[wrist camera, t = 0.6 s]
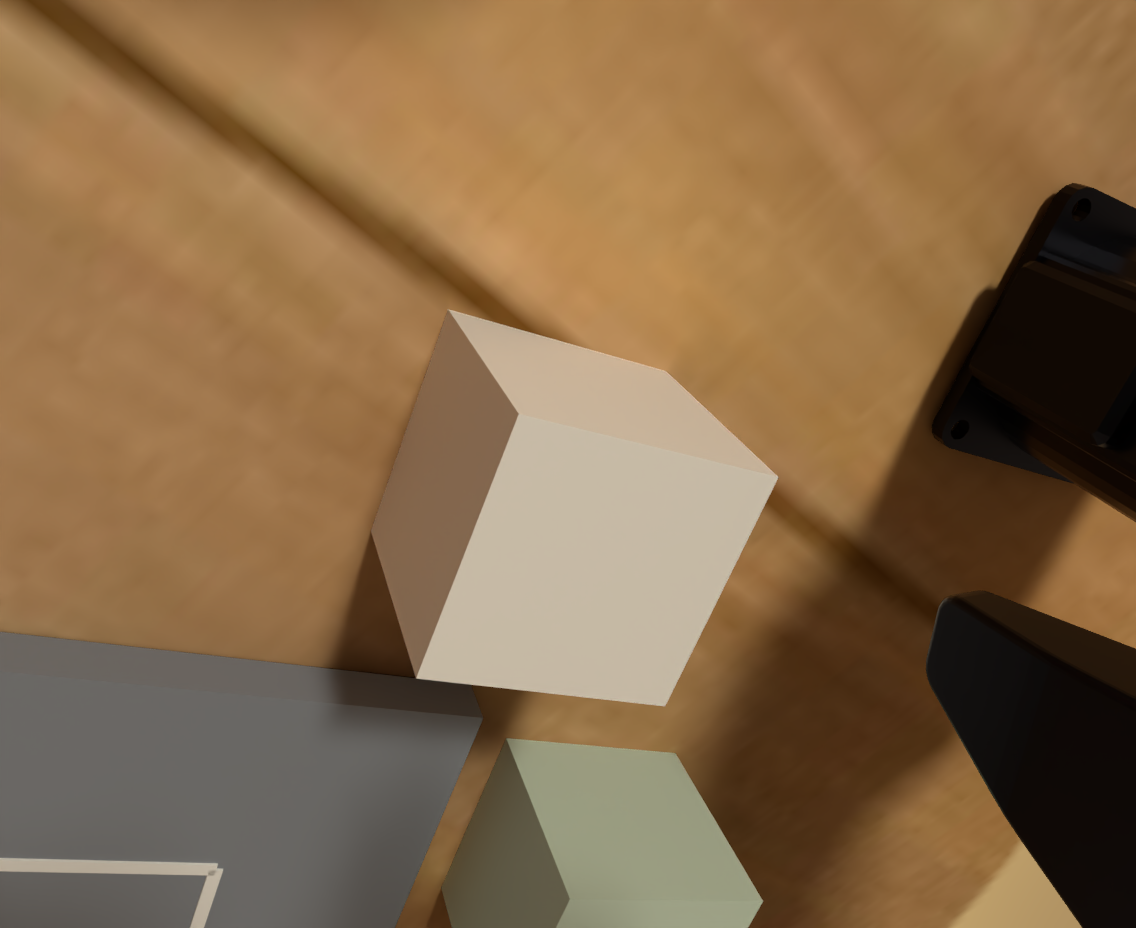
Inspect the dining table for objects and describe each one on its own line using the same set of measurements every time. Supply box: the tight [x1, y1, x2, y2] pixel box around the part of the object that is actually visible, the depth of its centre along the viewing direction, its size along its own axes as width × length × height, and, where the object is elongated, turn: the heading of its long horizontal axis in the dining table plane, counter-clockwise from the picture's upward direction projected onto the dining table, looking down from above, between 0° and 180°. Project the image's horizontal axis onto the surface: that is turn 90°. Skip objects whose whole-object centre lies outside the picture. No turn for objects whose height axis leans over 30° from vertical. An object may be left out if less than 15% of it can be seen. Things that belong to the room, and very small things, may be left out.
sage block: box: [441, 738, 763, 928], centre depth 25 cm, size 5×5×5 cm
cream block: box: [371, 309, 778, 706], centre depth 19 cm, size 5×5×5 cm
